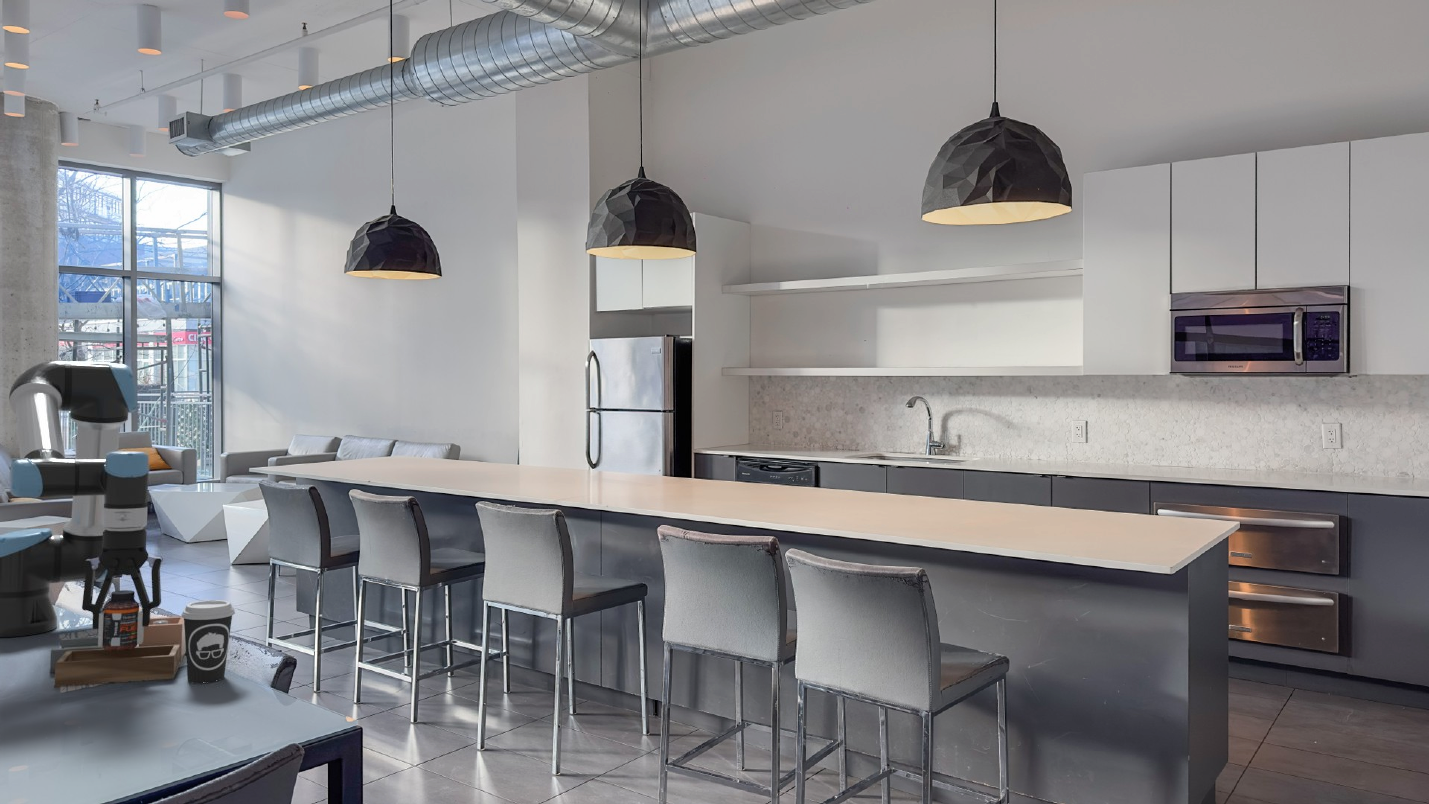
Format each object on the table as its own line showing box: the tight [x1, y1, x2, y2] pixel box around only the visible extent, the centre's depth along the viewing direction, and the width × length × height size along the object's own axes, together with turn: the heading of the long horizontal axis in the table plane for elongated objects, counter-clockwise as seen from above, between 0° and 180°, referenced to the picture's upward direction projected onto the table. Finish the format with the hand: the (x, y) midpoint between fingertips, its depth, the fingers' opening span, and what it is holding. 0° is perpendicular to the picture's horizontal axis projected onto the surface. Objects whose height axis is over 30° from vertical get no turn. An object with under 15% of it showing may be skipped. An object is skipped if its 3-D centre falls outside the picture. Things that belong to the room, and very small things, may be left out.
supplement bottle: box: [103, 589, 140, 651], centre depth 193 cm, size 6×6×11 cm
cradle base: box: [49, 636, 104, 674], centre depth 200 cm, size 10×10×4 cm
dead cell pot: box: [137, 616, 186, 663], centre depth 207 cm, size 8×8×8 cm
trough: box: [54, 644, 181, 688], centre depth 193 cm, size 10×20×4 cm, turn 113°
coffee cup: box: [180, 599, 236, 684], centre depth 193 cm, size 10×10×15 cm
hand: (120, 643), depth 193 cm, fingers closed on supplement bottle, 6 cm apart
